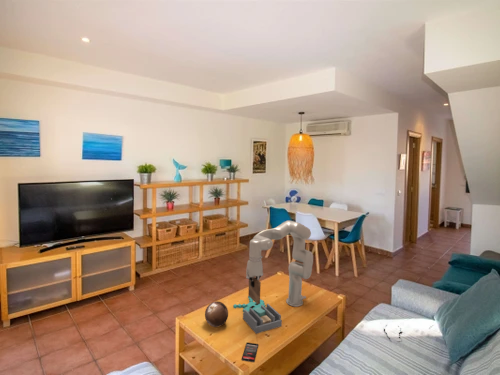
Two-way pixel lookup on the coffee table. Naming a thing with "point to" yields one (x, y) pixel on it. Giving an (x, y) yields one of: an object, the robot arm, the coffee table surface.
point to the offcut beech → (265, 319)
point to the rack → (257, 322)
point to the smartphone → (250, 352)
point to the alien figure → (250, 305)
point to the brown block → (255, 290)
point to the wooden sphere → (216, 314)
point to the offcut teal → (259, 312)
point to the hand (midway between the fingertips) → (254, 285)
